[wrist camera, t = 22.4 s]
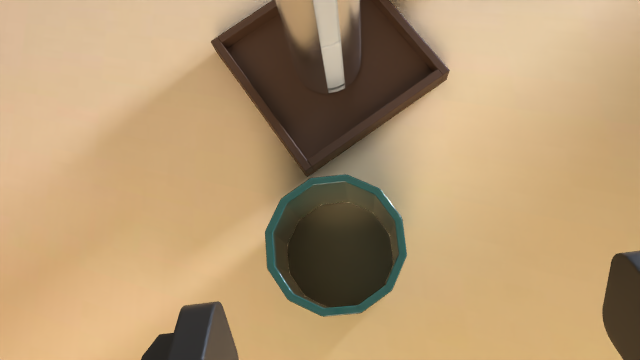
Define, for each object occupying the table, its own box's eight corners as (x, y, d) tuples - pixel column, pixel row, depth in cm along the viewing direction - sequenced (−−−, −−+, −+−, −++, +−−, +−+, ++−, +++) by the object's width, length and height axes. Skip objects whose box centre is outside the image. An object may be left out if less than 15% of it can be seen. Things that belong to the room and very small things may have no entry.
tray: (347, -37, 54) (346, -50, 52) (446, 79, 50) (450, 70, 48) (215, 51, 53) (210, 41, 51) (307, 177, 49) (304, 171, 47)
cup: (352, 175, 48) (350, 149, 41) (422, 267, 46) (434, 259, 38) (259, 240, 48) (239, 227, 40) (325, 338, 45) (317, 344, 37)
